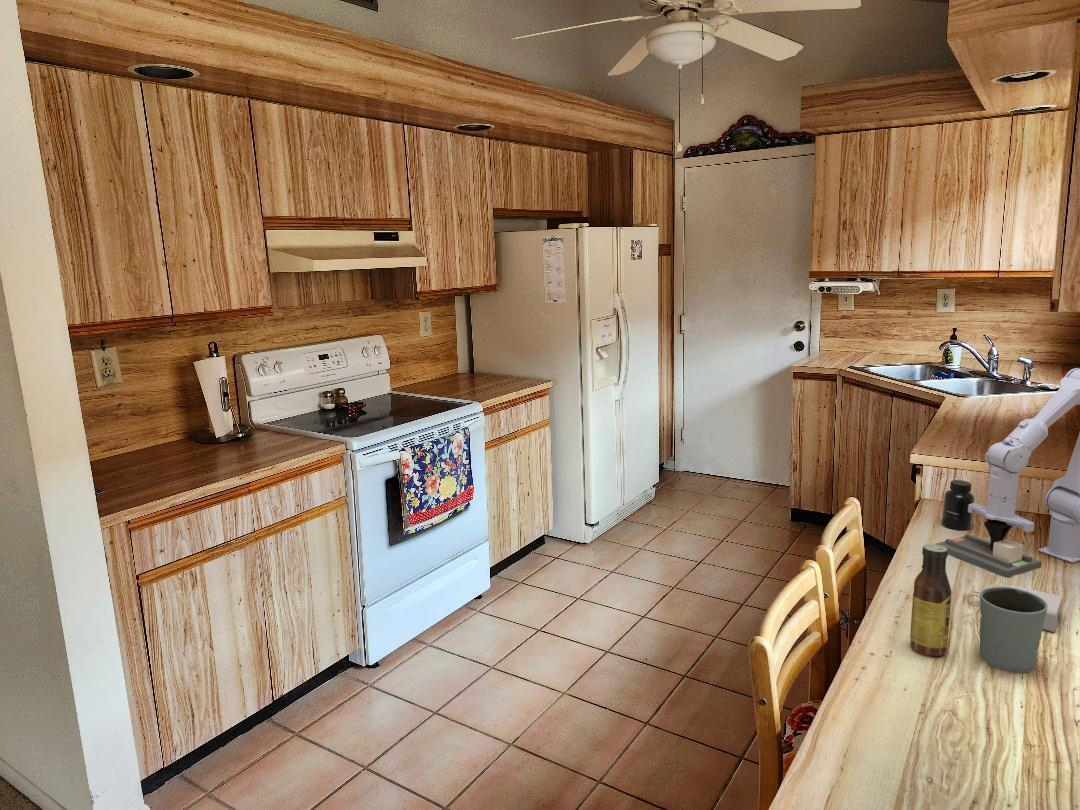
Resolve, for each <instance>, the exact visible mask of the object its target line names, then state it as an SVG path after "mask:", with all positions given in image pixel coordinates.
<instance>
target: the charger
mask: <svg viewBox="0 0 1080 810" xmlns="http://www.w3.org/2000/svg"><path fill="white" fill-rule="evenodd" d="M1005 587H1011V588H1017V589H1021V590H1025V591H1028V592H1030V593H1033V594H1035V595H1037V596H1039V597H1041V598H1042V599H1043V600H1044V601H1045V602H1046V603H1047V605H1048V608H1047V612H1046V616H1045V620H1044V623H1043V628H1042V631H1047V632H1052V633H1055V632H1056V629H1057V626H1058V623H1059V621H1060V618H1061V614H1062V609H1063V608H1062V607H1063V606H1062V605H1063V599H1064V597H1063V596H1062V595H1056V594H1053V593H1048V592H1044V591H1040V590H1036V589H1031V588H1028V587H1023V586H1018V585H1015V584H1009V585H1006V586H1005ZM980 593H981V591H980V590H979V591H978V590H976V589H974V590H973V592H972V593H971V596H974V597H977V598H980Z"/></svg>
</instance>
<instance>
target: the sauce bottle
mask: <svg viewBox="0 0 1080 810" xmlns="http://www.w3.org/2000/svg"><path fill="white" fill-rule="evenodd" d="M921 552H922V557H923V558H922V565H921V568H922V569H921V571H920V572H919V573H918V575H917V576H916V577H915V579H914V585H913V593H912V601H911V602H912V604H911V619H910V632H909V633H910V634H909V635H910V636H909V639H910V647H911V648H912V649H913V650H914V652H917V653H919V654H921V655H923V656H924V655H925V656H928V657H940V656H942V655H944V654H945V653H946V651H947V646H948V645H949V644H948V642H949V633H950V632H949V631H950V630H949V629H950V618H951V605H952V594H953V593H952V588H951V584H950V581H949V578H948V575H947V569H946V567H947V566H946V564H947V563H946V562H947V558H948V556H949V555H948V550H947V548H946V547H944V546H941V545H936V543H927V544H923V546H922V551H921Z"/></svg>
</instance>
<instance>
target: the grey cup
mask: <svg viewBox="0 0 1080 810" xmlns="http://www.w3.org/2000/svg"><path fill="white" fill-rule="evenodd" d="M980 592H981V593H980V594H979V595H980V597H979V603H980V606H979V607H980V611H979V612H980V615H981V616H980V618H979V651H978V652H979V656H980V659H982V661H984V662H985V663H987V664H988V665H989V666H991V667H993V668H996V669H998V670H1001V671H1005V672H1009V673H1016V674H1023V673H1030V672H1031V671H1033V670H1034V669H1035V666H1036V662H1037V657H1038V650H1039V646H1040V644H1041V643H1040V642H1041V638H1042V632H1043V629H1042V628H1043V623H1044V620H1045V616H1046V612H1047V608H1048V605H1047V603H1046V602H1045V601H1044V600H1043V599H1042V598H1041V597H1039V596H1037V595H1035V594H1033V593H1030V592H1028V591H1025V590H1021V589H1017V588H1011V587H1006V586H991V587H987V588H984V589H982V590H981V591H980Z"/></svg>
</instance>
